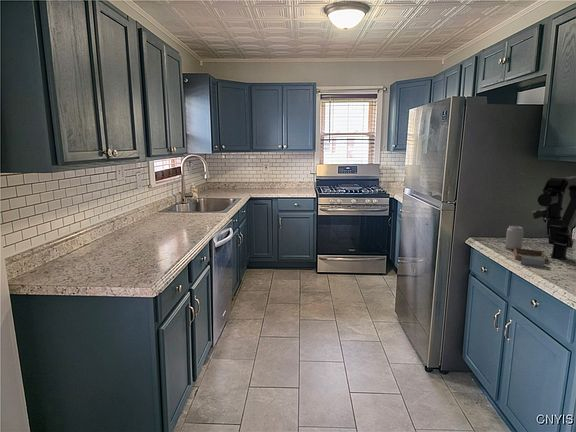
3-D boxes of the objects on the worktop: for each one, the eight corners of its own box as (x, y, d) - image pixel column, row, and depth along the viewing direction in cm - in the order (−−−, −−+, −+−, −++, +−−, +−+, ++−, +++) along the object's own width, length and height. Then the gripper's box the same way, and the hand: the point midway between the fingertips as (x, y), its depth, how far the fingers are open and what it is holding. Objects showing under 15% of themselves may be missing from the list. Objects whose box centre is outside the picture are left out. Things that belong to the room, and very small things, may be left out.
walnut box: (513, 251, 192) (514, 247, 191) (542, 255, 186) (543, 251, 185) (515, 259, 179) (515, 255, 179) (546, 263, 173) (547, 259, 173)
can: (524, 250, 193) (527, 228, 191) (510, 250, 193) (513, 228, 191) (515, 246, 201) (518, 225, 198) (501, 246, 201) (504, 225, 198)
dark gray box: (521, 261, 176) (522, 254, 176) (543, 265, 171) (544, 258, 171) (520, 264, 172) (521, 257, 172) (543, 268, 167) (544, 261, 166)
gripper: (532, 200, 183) (528, 230, 186) (536, 206, 166) (531, 239, 170) (559, 202, 177) (554, 233, 181) (566, 208, 161) (561, 242, 164)
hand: (550, 236), depth 174 cm, fingers open, 9 cm apart
